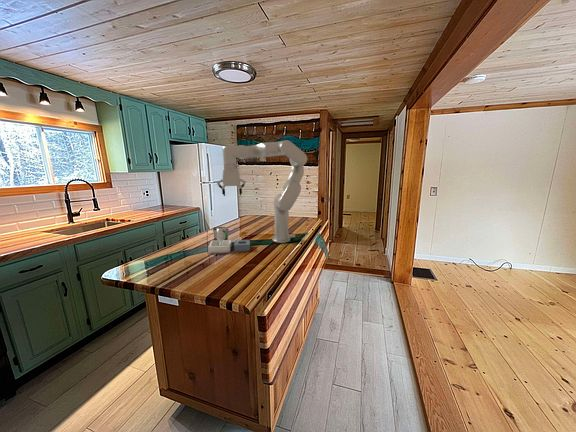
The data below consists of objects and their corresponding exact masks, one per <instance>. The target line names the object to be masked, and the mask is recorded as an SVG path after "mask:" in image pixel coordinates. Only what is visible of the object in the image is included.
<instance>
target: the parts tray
mask: <svg viewBox="0 0 576 432" xmlns="http://www.w3.org/2000/svg"><path fill="white" fill-rule="evenodd" d="M231 250H232V240H231V239H228V240H223V246H218V242H217V241H215V240H211V241H210V243H209V245H208V247H207V251H208V253H207V254H209V255H211V254H230V253H231Z"/></svg>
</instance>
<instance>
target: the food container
mask: <svg viewBox="0 0 576 432" xmlns="http://www.w3.org/2000/svg"><path fill="white" fill-rule="evenodd" d="M218 228H222V231H223V240H229V238H228V237H229V232H230V229H229V228H228V227H226V226H216V227H215V226H214V227H212V232H213V237H214V241H217V229H218Z"/></svg>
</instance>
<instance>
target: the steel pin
mask: <svg viewBox="0 0 576 432" xmlns="http://www.w3.org/2000/svg"><path fill="white" fill-rule="evenodd" d="M217 242H218V246H223V231H222V228H218V229H217Z"/></svg>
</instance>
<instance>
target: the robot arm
mask: <svg viewBox="0 0 576 432" xmlns="http://www.w3.org/2000/svg"><path fill="white" fill-rule="evenodd" d="M278 156H286V157H287V158H288V159H289V164H290V167H291V171H290V173H289V175H288V176H287V178H286V179H285V182H284V183H283V186H282V191H283V193H278V194H276V196H275V197H274V198H273V210H274V236H273V237H272V242H274V243H281V244H284V243H289V242H290V241H291V239H292V238H296V234H293V233H292V234H291V233H289V219H290V217H289V216H290V213H289V210H291V209H292V207H293V206H294V205H295V203H296V201H297V200H298V197H299V196H300V194H301V191H302V186H301V184H300V183H301V181H302V179H303V177H304V175H305V167H304V165H306V164H307V161H308V156H307V154H306V152H304V151H303V150H301V149H300V148H299V147H298V146H296V144H294V143H293V141H290V140H287V139H284V140H281V141H271V142H268V141H267V142H261V143H258V144H254V145H244V144H239V145H224V146H223V147H222V159H223V169H222V179H220V180H219V181H217V182H216V185H217V186H218V187H219V188H220V189H221V192H222V193H221V194H222V195H223V197H225V196H226V189H225V187H238V188H239V189H238V190H239V196H242V194H243V188H244V187H245V185H246V182H247V181H246V180H244V179H242V178H241V177H240V172H239V169H238V168H240V164H237V158H238V159H240V160H241V159H242V160H243V159H254V158H268V157H278ZM221 183H222V185H221ZM241 183H242V184H241Z"/></svg>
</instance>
